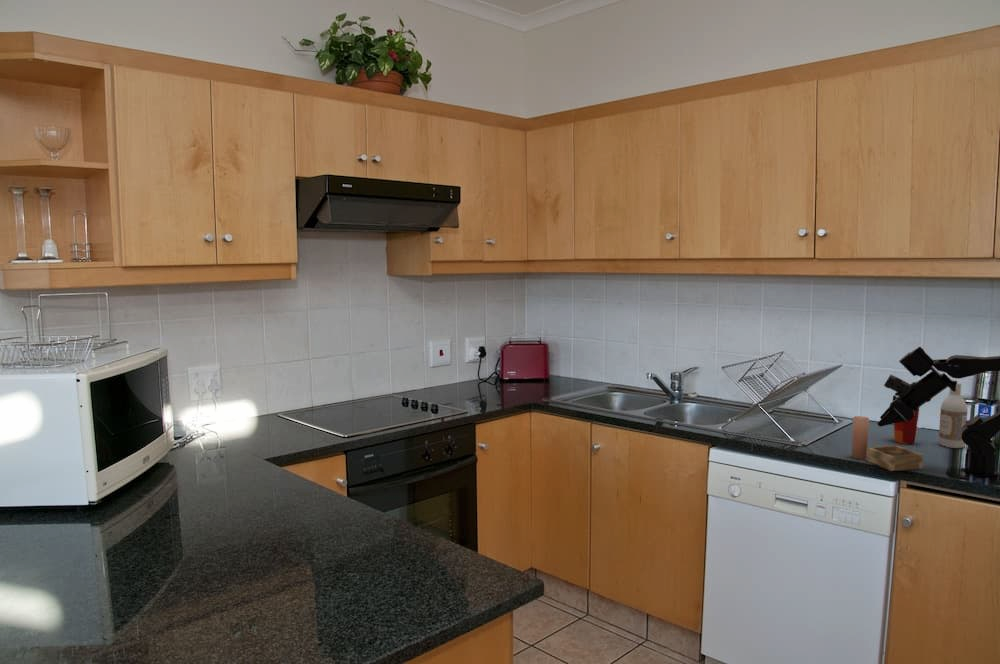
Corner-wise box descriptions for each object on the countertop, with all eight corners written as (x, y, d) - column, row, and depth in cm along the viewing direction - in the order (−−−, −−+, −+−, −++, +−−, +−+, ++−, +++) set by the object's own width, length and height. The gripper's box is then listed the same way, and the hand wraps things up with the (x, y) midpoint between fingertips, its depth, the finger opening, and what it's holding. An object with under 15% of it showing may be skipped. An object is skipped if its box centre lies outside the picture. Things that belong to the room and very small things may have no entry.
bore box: (922, 468, 198) (923, 454, 198) (891, 471, 196) (892, 457, 196) (895, 458, 208) (896, 445, 207) (865, 460, 206) (866, 447, 205)
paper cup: (920, 441, 226) (923, 398, 224) (915, 446, 220) (917, 402, 218) (893, 437, 231) (895, 395, 229) (887, 442, 225) (889, 399, 224)
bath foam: (933, 443, 223) (937, 381, 221) (949, 441, 225) (953, 380, 223) (953, 449, 217) (957, 385, 214) (970, 447, 219) (974, 384, 216)
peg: (869, 458, 208) (871, 419, 206) (857, 459, 207) (859, 419, 206) (860, 455, 212) (862, 416, 210) (848, 455, 211) (850, 416, 210)
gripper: (906, 362, 208) (862, 395, 216) (902, 371, 193) (855, 406, 200) (935, 391, 205) (890, 423, 212) (934, 403, 189) (885, 437, 197)
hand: (879, 421), depth 205 cm, fingers open, 9 cm apart
